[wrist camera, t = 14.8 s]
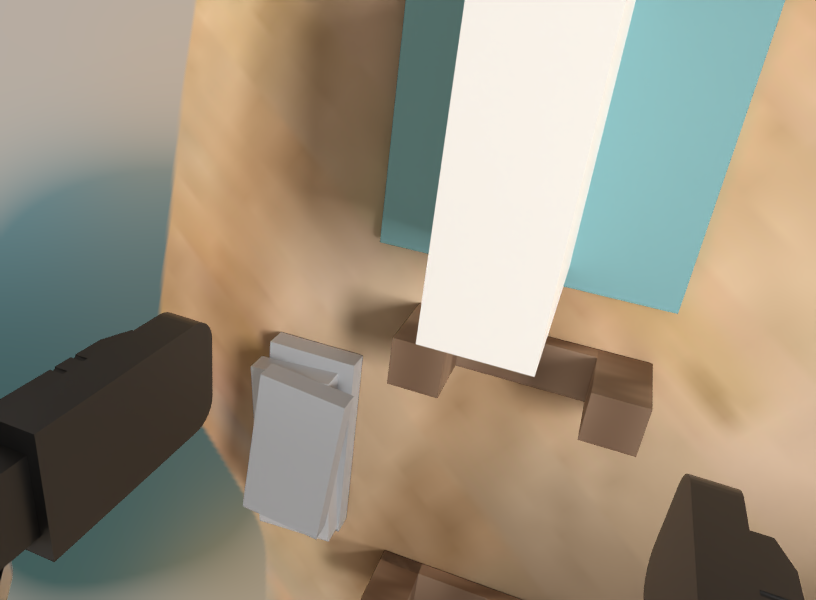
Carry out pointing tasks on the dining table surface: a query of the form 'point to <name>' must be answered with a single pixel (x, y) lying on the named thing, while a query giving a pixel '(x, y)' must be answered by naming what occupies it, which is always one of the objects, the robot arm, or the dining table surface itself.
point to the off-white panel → (517, 172)
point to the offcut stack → (303, 435)
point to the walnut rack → (557, 372)
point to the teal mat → (606, 138)
